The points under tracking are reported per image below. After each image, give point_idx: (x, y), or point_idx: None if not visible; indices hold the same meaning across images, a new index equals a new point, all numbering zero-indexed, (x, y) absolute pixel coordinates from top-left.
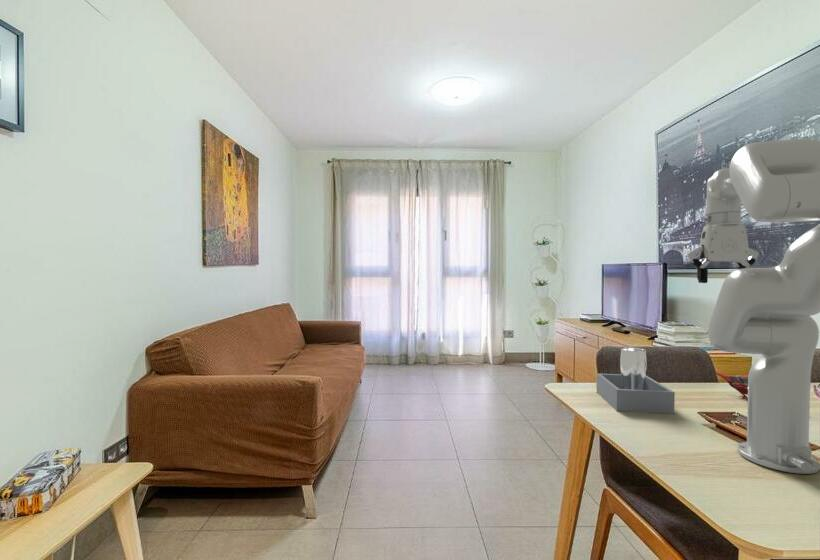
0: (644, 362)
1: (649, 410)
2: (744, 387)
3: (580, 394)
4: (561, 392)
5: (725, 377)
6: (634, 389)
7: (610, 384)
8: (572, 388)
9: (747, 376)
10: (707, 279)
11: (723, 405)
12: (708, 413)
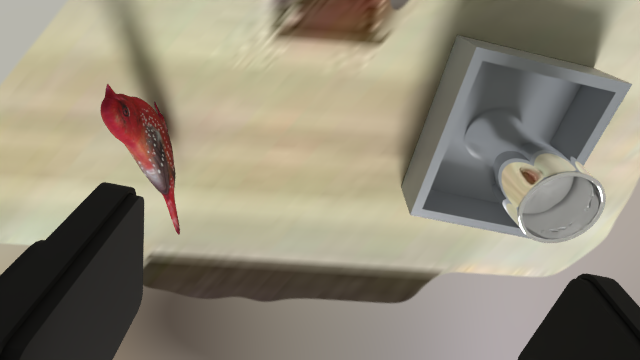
0: (535, 154)
1: (518, 50)
2: (164, 134)
3: None
4: (611, 211)
5: (172, 196)
6: (520, 126)
7: (599, 137)
8: None
9: (144, 146)
10: (598, 303)
11: (265, 87)
12: (359, 30)
